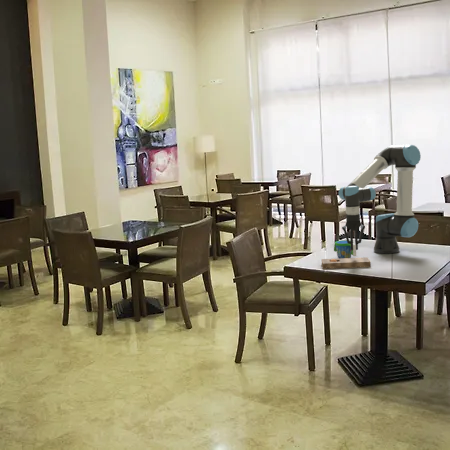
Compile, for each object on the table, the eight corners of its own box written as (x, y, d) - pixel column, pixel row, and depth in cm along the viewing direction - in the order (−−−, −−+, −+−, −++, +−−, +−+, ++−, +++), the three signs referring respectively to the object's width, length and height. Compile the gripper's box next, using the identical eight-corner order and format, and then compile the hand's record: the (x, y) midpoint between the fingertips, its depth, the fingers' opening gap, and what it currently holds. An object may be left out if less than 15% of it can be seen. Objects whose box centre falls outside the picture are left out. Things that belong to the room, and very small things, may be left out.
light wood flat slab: (367, 262, 331) (367, 257, 330) (370, 267, 319) (370, 261, 318) (321, 264, 334) (321, 259, 333) (322, 268, 322) (322, 263, 322)
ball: (338, 262, 328) (334, 257, 328) (338, 264, 324) (334, 258, 324) (332, 266, 329) (328, 261, 329) (332, 268, 325) (328, 262, 325)
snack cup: (359, 259, 340) (359, 242, 339) (345, 262, 336) (344, 244, 334) (343, 255, 354) (343, 239, 353) (329, 257, 350) (328, 241, 348)
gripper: (341, 215, 319) (343, 257, 322) (365, 214, 317) (367, 256, 321) (340, 213, 326) (342, 254, 330) (364, 212, 325) (365, 253, 328)
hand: (354, 255), depth 325 cm, fingers closed
